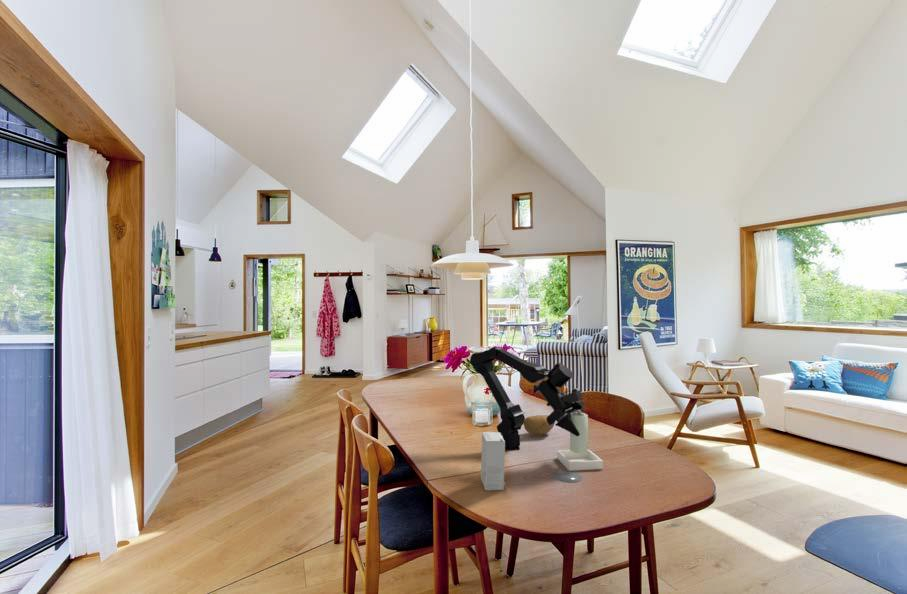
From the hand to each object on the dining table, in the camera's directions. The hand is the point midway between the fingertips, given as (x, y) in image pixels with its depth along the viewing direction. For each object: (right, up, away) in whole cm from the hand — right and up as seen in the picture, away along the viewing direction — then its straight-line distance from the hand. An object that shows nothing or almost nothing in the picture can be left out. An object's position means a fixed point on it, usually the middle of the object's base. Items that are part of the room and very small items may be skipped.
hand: (582, 433), depth 148 cm
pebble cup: (-1, -6, +1) cm, 6 cm away
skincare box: (-31, -11, -15) cm, 37 cm away
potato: (-8, -11, +35) cm, 37 cm away
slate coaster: (-8, -11, -11) cm, 17 cm away
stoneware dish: (-1, -11, +1) cm, 11 cm away
